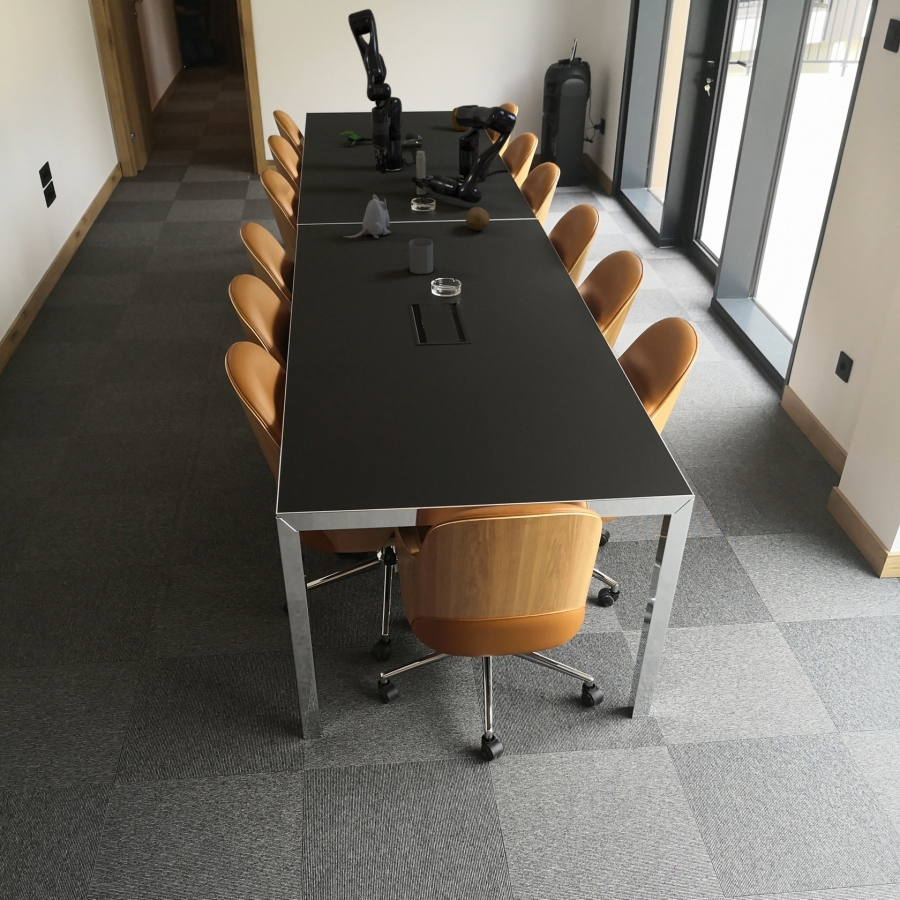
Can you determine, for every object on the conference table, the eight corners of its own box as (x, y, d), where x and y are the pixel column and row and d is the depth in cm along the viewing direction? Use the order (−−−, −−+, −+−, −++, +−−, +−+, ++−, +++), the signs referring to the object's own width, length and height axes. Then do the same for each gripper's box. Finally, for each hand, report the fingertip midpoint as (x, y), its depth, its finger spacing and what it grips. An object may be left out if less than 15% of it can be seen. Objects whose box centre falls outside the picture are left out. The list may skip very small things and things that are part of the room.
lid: (376, 167, 390) (375, 163, 388) (387, 167, 390) (387, 163, 388) (375, 170, 385) (375, 165, 384) (386, 170, 385) (386, 166, 384)
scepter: (394, 128, 464) (338, 126, 462) (394, 143, 457) (337, 141, 455) (394, 137, 469) (338, 135, 467) (394, 152, 462) (337, 150, 460)
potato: (487, 223, 352) (488, 203, 348) (491, 234, 340) (491, 214, 336) (463, 223, 351) (463, 204, 347) (466, 235, 340) (466, 214, 335)
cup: (409, 265, 311) (408, 238, 306) (432, 265, 312) (431, 238, 307) (410, 274, 304) (409, 246, 299) (433, 273, 305) (433, 246, 299)
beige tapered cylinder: (421, 195, 385) (421, 153, 375) (414, 193, 387) (413, 151, 377) (428, 193, 388) (427, 151, 378) (420, 191, 390) (420, 149, 380)
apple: (471, 132, 486) (471, 108, 479) (451, 132, 486) (451, 108, 479) (470, 128, 495) (471, 104, 488) (452, 128, 495) (452, 104, 488)
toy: (396, 233, 341) (395, 195, 333) (351, 248, 326) (349, 209, 318) (381, 228, 346) (379, 190, 338) (336, 243, 332) (333, 204, 324)
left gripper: (367, 129, 384) (369, 168, 393) (376, 136, 372) (377, 176, 381) (384, 128, 386) (385, 167, 395) (393, 135, 374) (394, 175, 383)
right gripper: (455, 174, 378) (428, 166, 388) (431, 180, 369) (404, 172, 380) (455, 191, 382) (428, 183, 392) (431, 197, 373) (405, 189, 384)
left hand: (381, 171), depth 388 cm, fingers closed on lid, 5 cm apart
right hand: (417, 178), depth 386 cm, fingers closed on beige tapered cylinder, 4 cm apart
